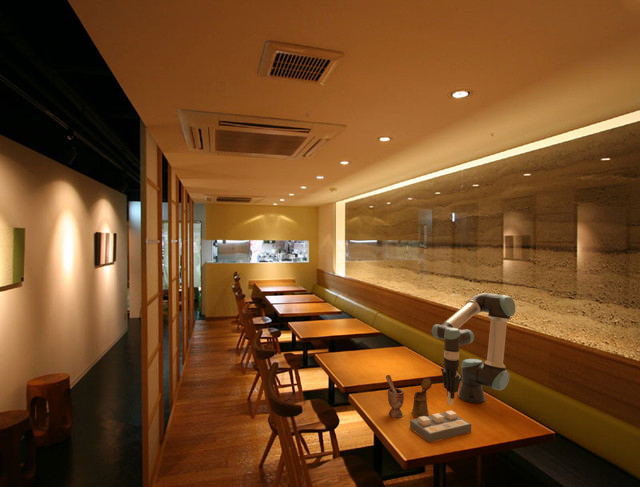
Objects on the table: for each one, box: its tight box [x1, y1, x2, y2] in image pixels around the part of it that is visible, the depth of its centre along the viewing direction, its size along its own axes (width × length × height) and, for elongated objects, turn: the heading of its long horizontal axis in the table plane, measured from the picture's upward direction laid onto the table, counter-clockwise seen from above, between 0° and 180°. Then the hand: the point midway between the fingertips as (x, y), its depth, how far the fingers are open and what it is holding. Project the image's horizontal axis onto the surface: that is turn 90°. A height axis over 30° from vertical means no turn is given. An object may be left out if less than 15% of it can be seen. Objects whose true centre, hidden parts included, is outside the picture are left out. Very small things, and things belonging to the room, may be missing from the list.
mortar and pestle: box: [385, 374, 405, 419], centre depth 207 cm, size 12×9×20 cm
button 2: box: [444, 409, 458, 420], centre depth 194 cm, size 4×4×4 cm
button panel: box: [409, 412, 472, 443], centre depth 189 cm, size 26×15×4 cm, turn 113°
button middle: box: [431, 412, 444, 423], centre depth 191 cm, size 4×4×4 cm
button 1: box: [418, 416, 430, 426], centre depth 188 cm, size 4×4×4 cm
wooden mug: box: [411, 377, 432, 418], centre depth 208 cm, size 9×14×18 cm, turn 134°
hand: (450, 403), depth 194 cm, fingers closed
